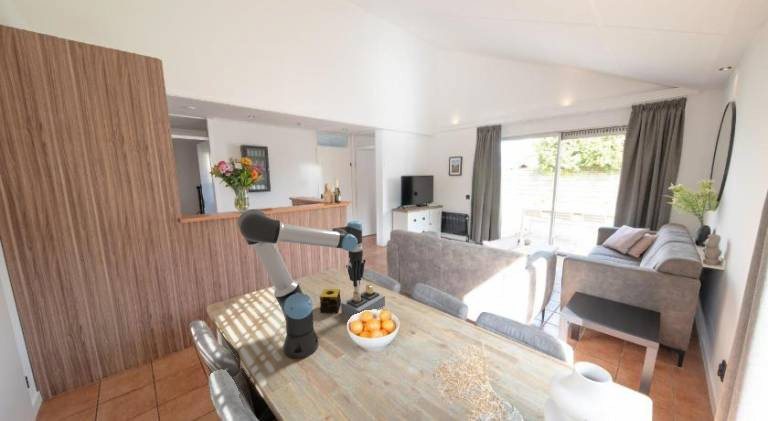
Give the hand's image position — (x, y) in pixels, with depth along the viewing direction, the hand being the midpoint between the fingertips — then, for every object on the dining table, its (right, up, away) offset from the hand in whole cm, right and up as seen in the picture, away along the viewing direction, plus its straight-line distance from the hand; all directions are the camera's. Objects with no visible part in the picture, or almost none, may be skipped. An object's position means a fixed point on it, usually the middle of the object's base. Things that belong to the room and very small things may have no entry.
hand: (357, 291), depth 150 cm
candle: (-16, -12, +7) cm, 21 cm away
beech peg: (0, -8, +1) cm, 8 cm away
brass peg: (+6, -6, +9) cm, 13 cm away
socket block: (+3, -12, +6) cm, 14 cm away
